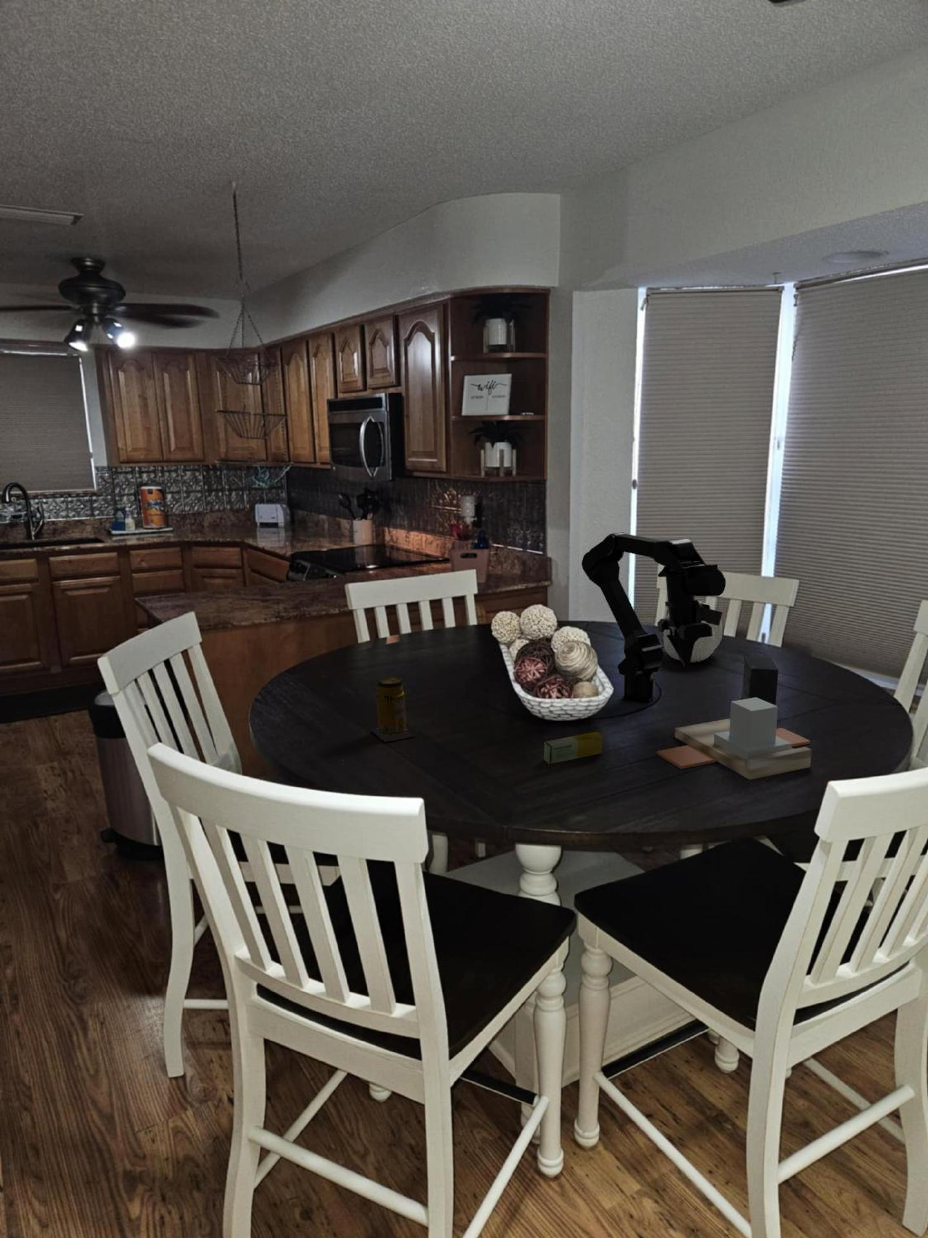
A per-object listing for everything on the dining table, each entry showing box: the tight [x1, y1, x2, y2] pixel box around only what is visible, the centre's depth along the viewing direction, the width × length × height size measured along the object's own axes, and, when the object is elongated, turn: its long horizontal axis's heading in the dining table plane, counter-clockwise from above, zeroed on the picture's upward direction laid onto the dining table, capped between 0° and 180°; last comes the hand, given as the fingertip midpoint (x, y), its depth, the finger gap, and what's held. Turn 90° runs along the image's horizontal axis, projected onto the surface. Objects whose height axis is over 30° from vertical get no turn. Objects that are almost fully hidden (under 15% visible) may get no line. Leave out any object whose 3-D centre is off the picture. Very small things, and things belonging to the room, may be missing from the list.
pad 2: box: [776, 727, 811, 748], centre depth 162 cm, size 8×8×1 cm
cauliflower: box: [662, 600, 724, 663], centre depth 222 cm, size 20×18×16 cm
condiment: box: [376, 677, 407, 735], centre depth 170 cm, size 7×8×12 cm
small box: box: [741, 655, 779, 706], centre depth 182 cm, size 11×6×10 cm, turn 168°
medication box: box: [543, 731, 604, 765], centre depth 156 cm, size 12×3×4 cm, turn 112°
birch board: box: [674, 718, 812, 781], centre depth 157 cm, size 23×14×4 cm, turn 20°
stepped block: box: [714, 697, 792, 760], centre depth 153 cm, size 10×10×9 cm
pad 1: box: [656, 744, 717, 770], centre depth 155 cm, size 8×8×1 cm
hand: (686, 665), depth 176 cm, fingers closed
